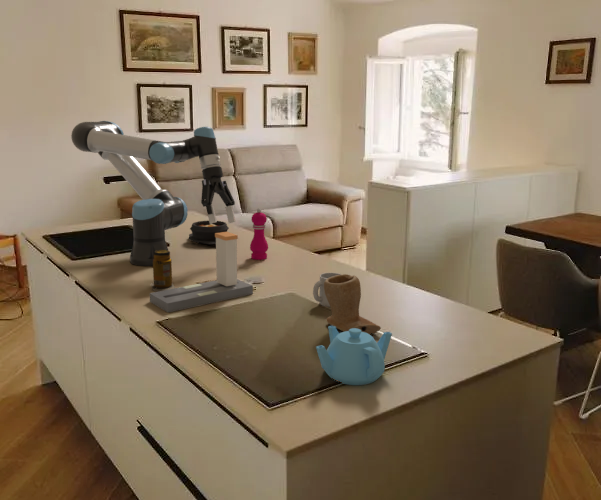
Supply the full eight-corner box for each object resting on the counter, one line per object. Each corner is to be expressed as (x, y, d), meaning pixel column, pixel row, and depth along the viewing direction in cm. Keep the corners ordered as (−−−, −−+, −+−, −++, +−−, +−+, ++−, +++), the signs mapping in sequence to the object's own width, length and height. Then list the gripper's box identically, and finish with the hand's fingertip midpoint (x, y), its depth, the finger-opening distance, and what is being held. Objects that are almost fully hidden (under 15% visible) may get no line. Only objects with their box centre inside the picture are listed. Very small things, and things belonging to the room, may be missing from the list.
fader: (227, 279, 196) (226, 231, 192) (238, 284, 191) (237, 235, 187) (215, 282, 193) (214, 233, 189) (226, 286, 188) (225, 236, 184)
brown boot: (315, 324, 167) (316, 272, 163) (351, 317, 172) (352, 267, 168) (343, 342, 154) (345, 287, 150) (381, 335, 159) (384, 281, 155)
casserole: (241, 245, 258) (241, 226, 256) (201, 250, 249) (201, 230, 247) (217, 234, 279) (216, 217, 277) (179, 238, 269) (178, 220, 267)
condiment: (172, 282, 203) (170, 248, 200) (175, 289, 195) (174, 254, 193) (150, 284, 201) (148, 249, 198) (153, 291, 193) (151, 255, 190)
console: (232, 285, 201) (232, 276, 200) (252, 293, 192) (252, 285, 191) (149, 301, 183) (149, 292, 182) (167, 312, 174) (167, 303, 173)
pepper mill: (269, 256, 240) (269, 207, 236) (266, 260, 233) (266, 210, 229) (251, 255, 241) (251, 206, 236) (248, 259, 234) (248, 209, 229)
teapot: (311, 383, 131) (312, 337, 128) (328, 356, 145) (329, 315, 142) (379, 394, 127) (382, 346, 124) (390, 365, 141) (393, 322, 138)
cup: (347, 305, 183) (348, 277, 180) (319, 310, 178) (319, 281, 176) (334, 298, 189) (335, 271, 187) (307, 303, 184) (307, 275, 182)
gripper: (201, 162, 212) (213, 220, 211) (236, 167, 234) (247, 220, 234) (184, 168, 215) (196, 225, 214) (220, 172, 237) (231, 224, 237)
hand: (223, 223), depth 224 cm, fingers open, 13 cm apart
